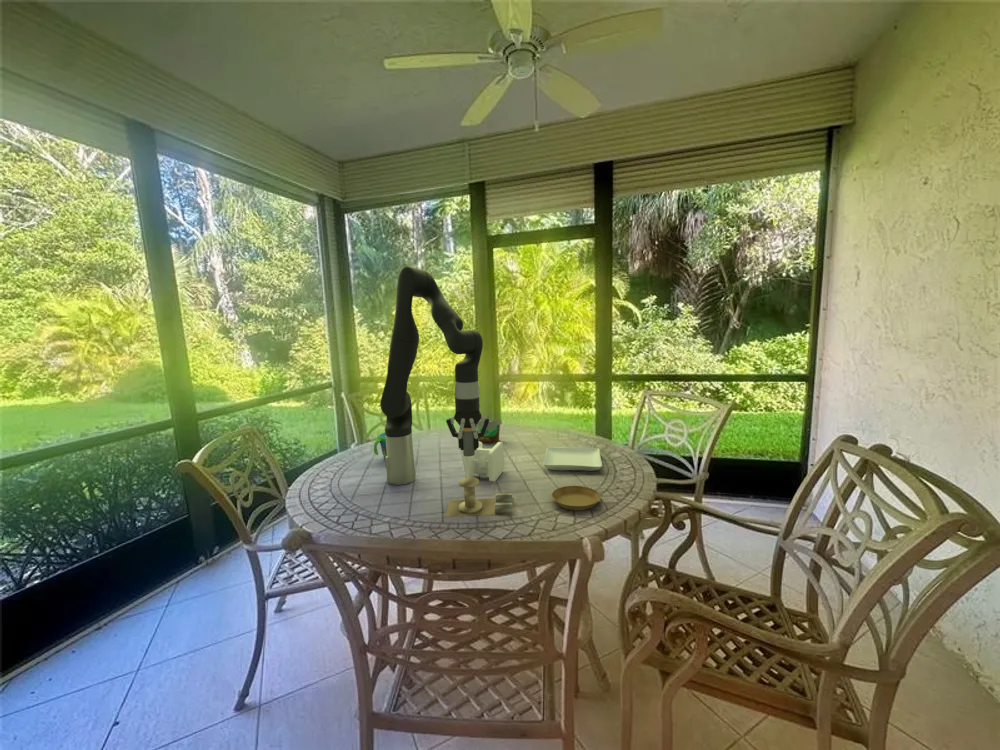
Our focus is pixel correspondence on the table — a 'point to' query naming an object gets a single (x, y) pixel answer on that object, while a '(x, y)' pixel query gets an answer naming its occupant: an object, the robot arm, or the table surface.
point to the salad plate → (572, 458)
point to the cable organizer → (485, 462)
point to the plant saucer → (576, 497)
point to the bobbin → (469, 496)
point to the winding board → (485, 506)
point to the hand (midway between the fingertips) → (468, 449)
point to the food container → (490, 431)
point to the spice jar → (468, 442)
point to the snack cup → (383, 445)
